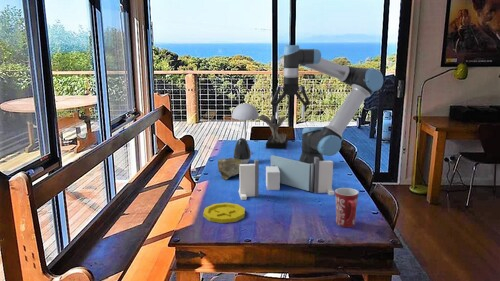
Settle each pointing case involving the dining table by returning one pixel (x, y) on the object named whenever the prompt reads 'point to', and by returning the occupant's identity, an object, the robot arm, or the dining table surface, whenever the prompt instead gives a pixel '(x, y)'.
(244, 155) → the dark grey rounded lump
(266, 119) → the coral
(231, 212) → the decorative disc
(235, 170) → the rock
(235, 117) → the lamp
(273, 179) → the white rectangular block
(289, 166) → the door
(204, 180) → the dining table surface
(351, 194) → the mug
